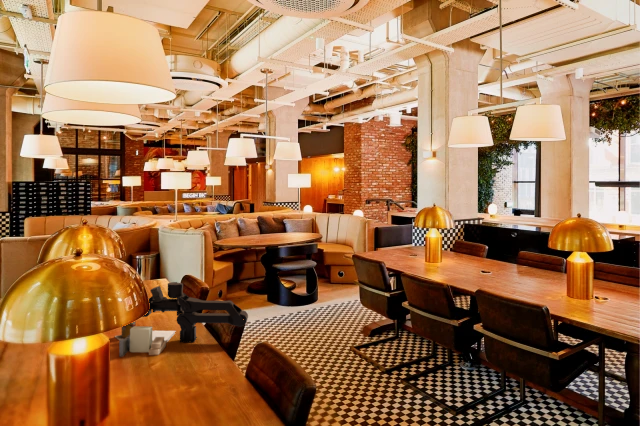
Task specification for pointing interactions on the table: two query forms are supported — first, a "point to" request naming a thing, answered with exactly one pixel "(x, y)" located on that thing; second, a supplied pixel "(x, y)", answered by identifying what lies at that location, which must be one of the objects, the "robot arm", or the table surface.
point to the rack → (124, 346)
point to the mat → (163, 335)
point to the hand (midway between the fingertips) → (133, 304)
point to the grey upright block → (140, 338)
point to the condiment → (126, 331)
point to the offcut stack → (157, 346)
